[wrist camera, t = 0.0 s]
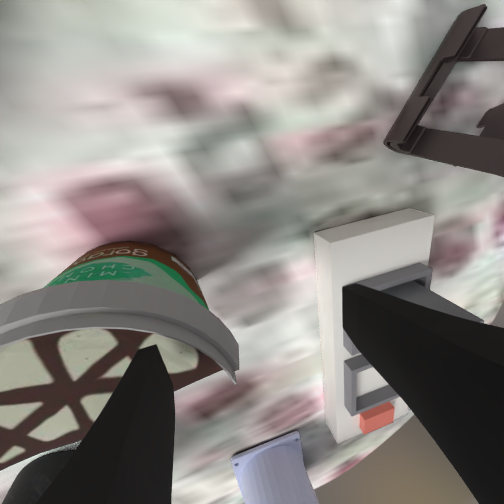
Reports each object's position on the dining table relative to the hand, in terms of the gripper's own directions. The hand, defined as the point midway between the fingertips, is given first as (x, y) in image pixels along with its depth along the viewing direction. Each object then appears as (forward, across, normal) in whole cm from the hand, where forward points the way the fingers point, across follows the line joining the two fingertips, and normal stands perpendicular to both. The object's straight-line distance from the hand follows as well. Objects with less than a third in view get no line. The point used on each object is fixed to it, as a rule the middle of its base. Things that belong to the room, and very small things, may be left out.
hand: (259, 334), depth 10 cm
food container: (+10, +7, 0) cm, 13 cm away
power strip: (+10, -12, +13) cm, 20 cm away
